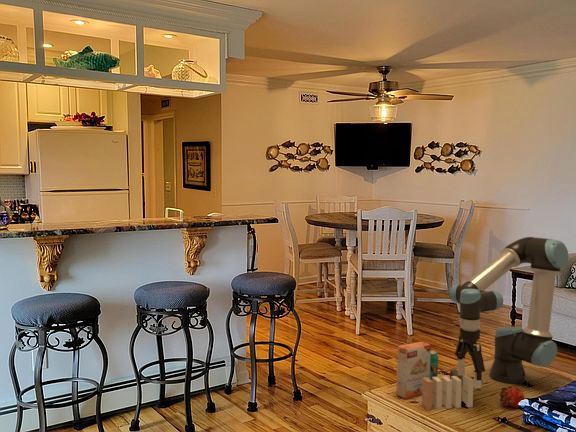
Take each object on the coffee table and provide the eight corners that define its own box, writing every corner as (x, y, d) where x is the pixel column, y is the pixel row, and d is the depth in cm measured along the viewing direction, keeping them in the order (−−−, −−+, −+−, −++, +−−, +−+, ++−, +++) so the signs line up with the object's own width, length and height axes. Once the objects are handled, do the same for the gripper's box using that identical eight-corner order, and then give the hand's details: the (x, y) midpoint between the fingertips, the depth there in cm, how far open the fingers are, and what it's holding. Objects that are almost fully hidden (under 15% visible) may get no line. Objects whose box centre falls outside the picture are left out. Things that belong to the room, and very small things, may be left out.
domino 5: (466, 402, 220) (467, 375, 219) (472, 407, 215) (473, 379, 214) (461, 402, 220) (462, 375, 219) (467, 407, 215) (468, 380, 214)
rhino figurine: (461, 392, 231) (462, 378, 230) (447, 380, 244) (447, 367, 244) (471, 391, 231) (471, 377, 231) (455, 380, 245) (456, 366, 245)
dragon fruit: (498, 411, 215) (519, 411, 220) (514, 405, 208) (535, 405, 214) (490, 390, 219) (512, 389, 224) (506, 383, 213) (527, 383, 218)
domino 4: (455, 402, 219) (455, 375, 218) (460, 407, 214) (461, 380, 213) (450, 403, 219) (451, 376, 218) (456, 408, 214) (456, 380, 213)
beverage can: (429, 389, 233) (430, 354, 232) (420, 384, 238) (421, 350, 237) (440, 387, 236) (441, 352, 235) (430, 382, 241) (431, 349, 240)
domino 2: (436, 403, 218) (436, 376, 217) (441, 408, 213) (442, 381, 212) (431, 404, 218) (432, 376, 217) (436, 409, 213) (437, 381, 212)
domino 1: (426, 404, 217) (427, 377, 217) (431, 409, 212) (432, 381, 212) (421, 404, 217) (422, 377, 216) (426, 409, 212) (427, 382, 211)
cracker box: (406, 400, 221) (407, 349, 220) (395, 395, 226) (396, 345, 225) (430, 393, 229) (431, 344, 227) (419, 388, 234) (420, 340, 232)
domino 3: (445, 403, 219) (446, 376, 218) (451, 408, 214) (452, 380, 213) (440, 403, 218) (441, 376, 218) (446, 408, 213) (447, 381, 213)
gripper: (446, 320, 227) (446, 370, 229) (476, 338, 202) (475, 394, 204) (463, 319, 228) (463, 369, 230) (495, 337, 204) (494, 392, 205)
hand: (469, 381), depth 217 cm, fingers open, 13 cm apart
